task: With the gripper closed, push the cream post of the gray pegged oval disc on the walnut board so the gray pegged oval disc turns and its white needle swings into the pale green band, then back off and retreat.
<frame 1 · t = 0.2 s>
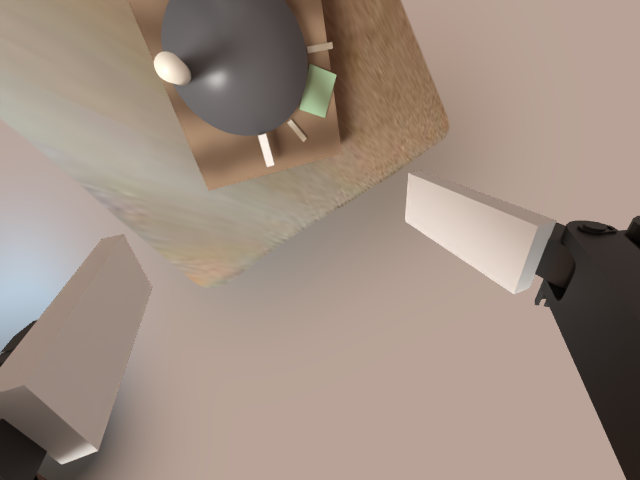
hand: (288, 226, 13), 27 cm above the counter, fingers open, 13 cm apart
gray pegged oval disc: (249, 81, 26), point 8 cm above the counter, hinge at 0.0°
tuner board: (251, 84, 33), on the counter
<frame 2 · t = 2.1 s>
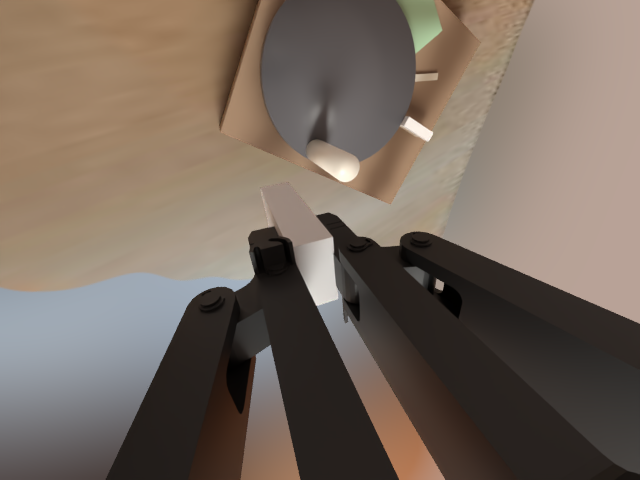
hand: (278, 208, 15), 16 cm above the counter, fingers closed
gray pegged oval disc: (377, 94, 21), point 8 cm above the counter, hinge at 0.0°
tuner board: (343, 84, 28), on the counter
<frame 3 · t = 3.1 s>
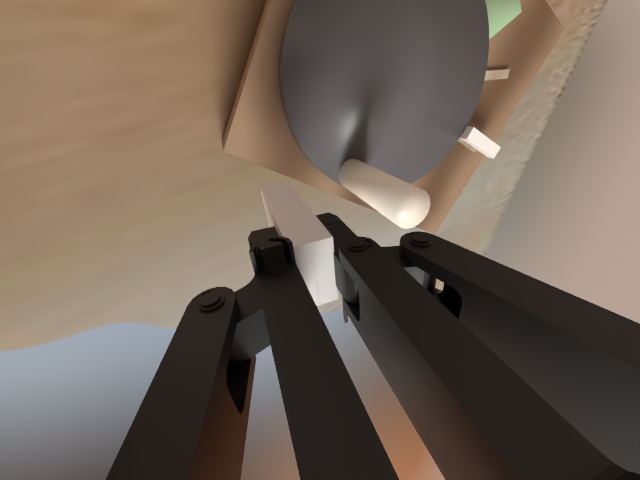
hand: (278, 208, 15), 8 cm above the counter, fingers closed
gray pegged oval disc: (446, 97, 15), point 8 cm above the counter, hinge at 0.0°
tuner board: (381, 85, 22), on the counter
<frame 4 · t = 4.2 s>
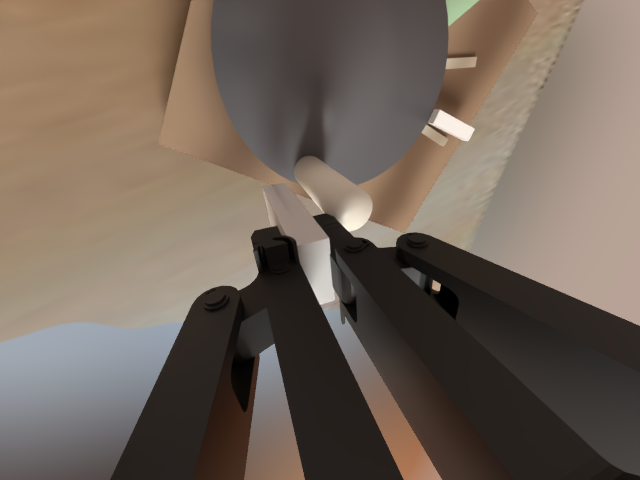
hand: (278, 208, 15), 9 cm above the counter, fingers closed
gray pegged oval disc: (394, 82, 14), point 8 cm above the counter, hinge at 5.0°, touching gripper
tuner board: (343, 74, 20), on the counter
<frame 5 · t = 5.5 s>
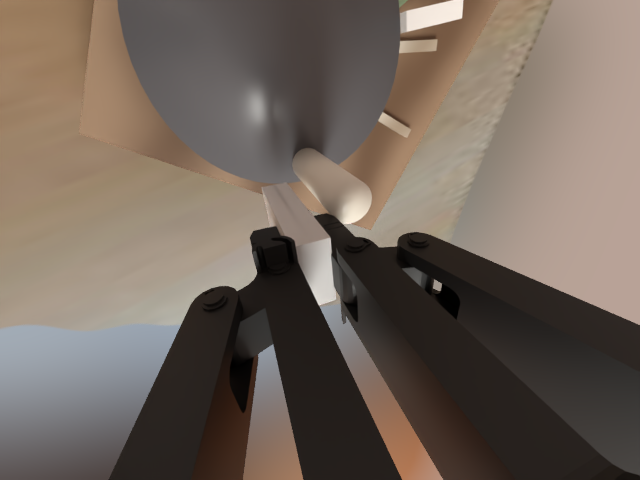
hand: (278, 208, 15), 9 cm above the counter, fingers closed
gray pegged oval disc: (332, 36, 12), point 8 cm above the counter, hinge at 38.2°, touching gripper
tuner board: (297, 59, 19), on the counter
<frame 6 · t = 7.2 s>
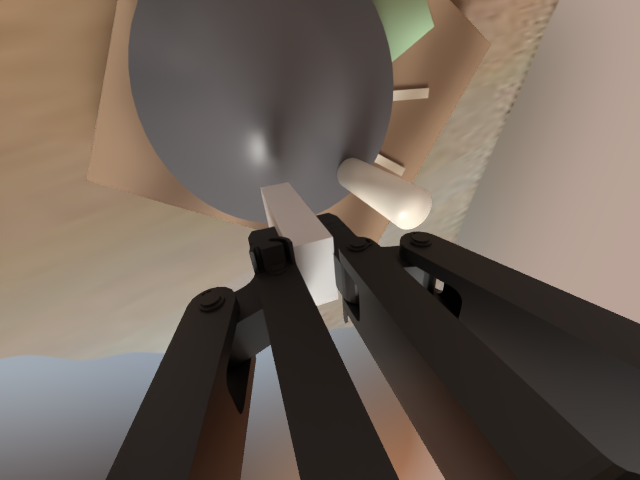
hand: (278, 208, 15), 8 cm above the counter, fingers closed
gray pegged oval disc: (317, 74, 12), point 8 cm above the counter, hinge at 74.0°
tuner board: (296, 103, 20), on the counter
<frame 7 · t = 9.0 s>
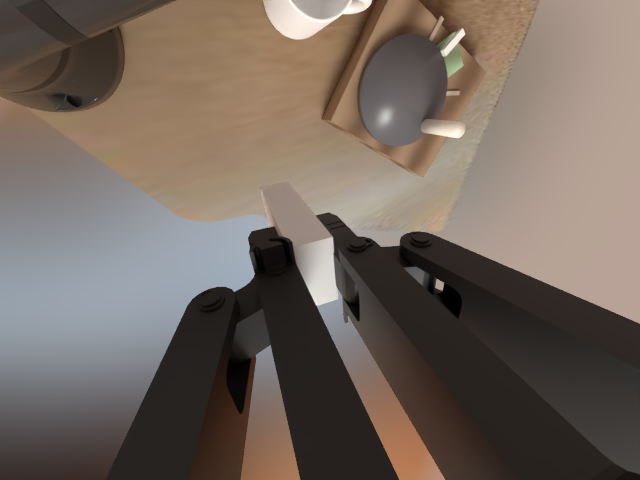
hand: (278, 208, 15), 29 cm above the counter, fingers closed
gray pegged oval disc: (428, 83, 35), point 8 cm above the counter, hinge at 74.0°
mug: (307, 5, 35), on the counter
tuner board: (398, 95, 43), on the counter
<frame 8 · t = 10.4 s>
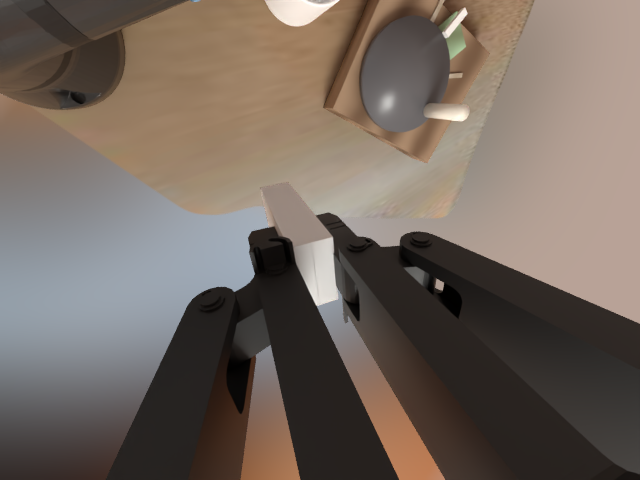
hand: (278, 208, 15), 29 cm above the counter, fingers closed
gray pegged oval disc: (430, 66, 35), point 8 cm above the counter, hinge at 74.0°
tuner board: (399, 80, 43), on the counter
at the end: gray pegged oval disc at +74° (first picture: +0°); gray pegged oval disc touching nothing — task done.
